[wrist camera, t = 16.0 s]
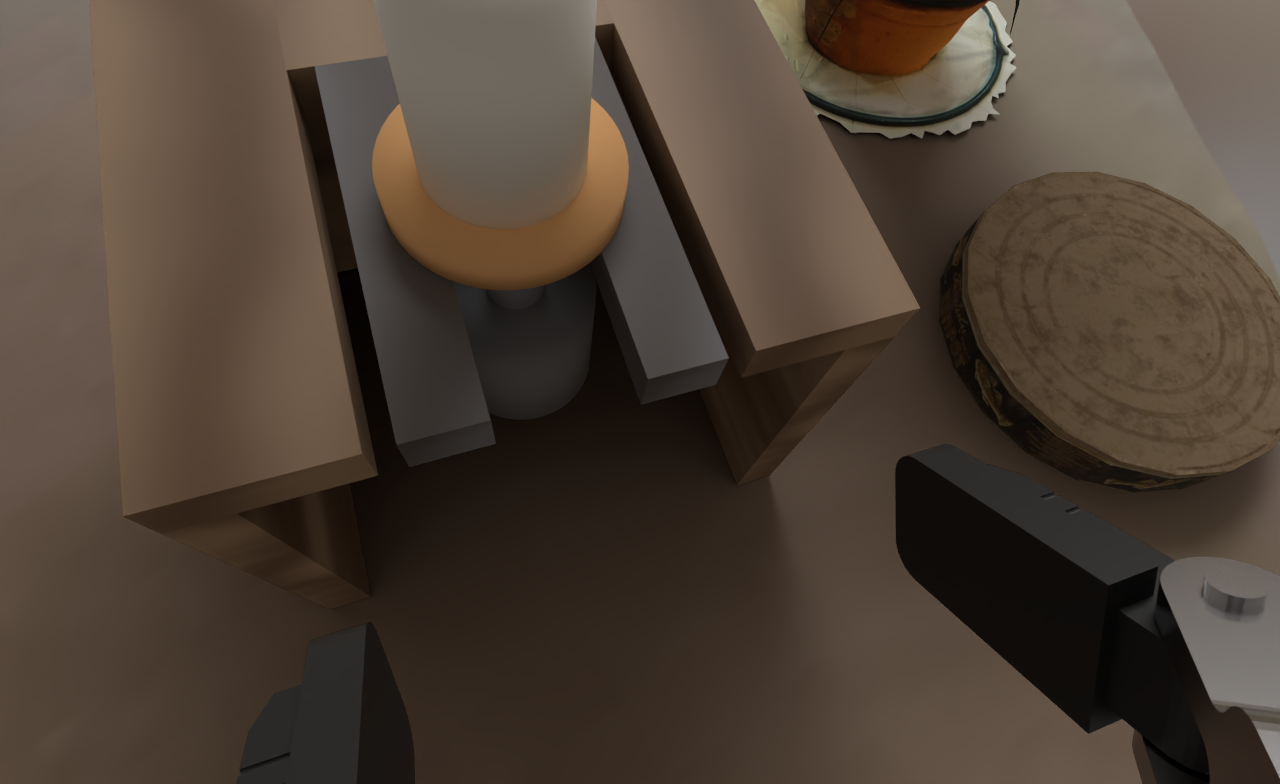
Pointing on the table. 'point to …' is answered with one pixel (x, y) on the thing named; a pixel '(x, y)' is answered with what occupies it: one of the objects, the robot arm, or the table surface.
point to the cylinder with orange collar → (504, 181)
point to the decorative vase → (895, 60)
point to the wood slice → (1115, 333)
